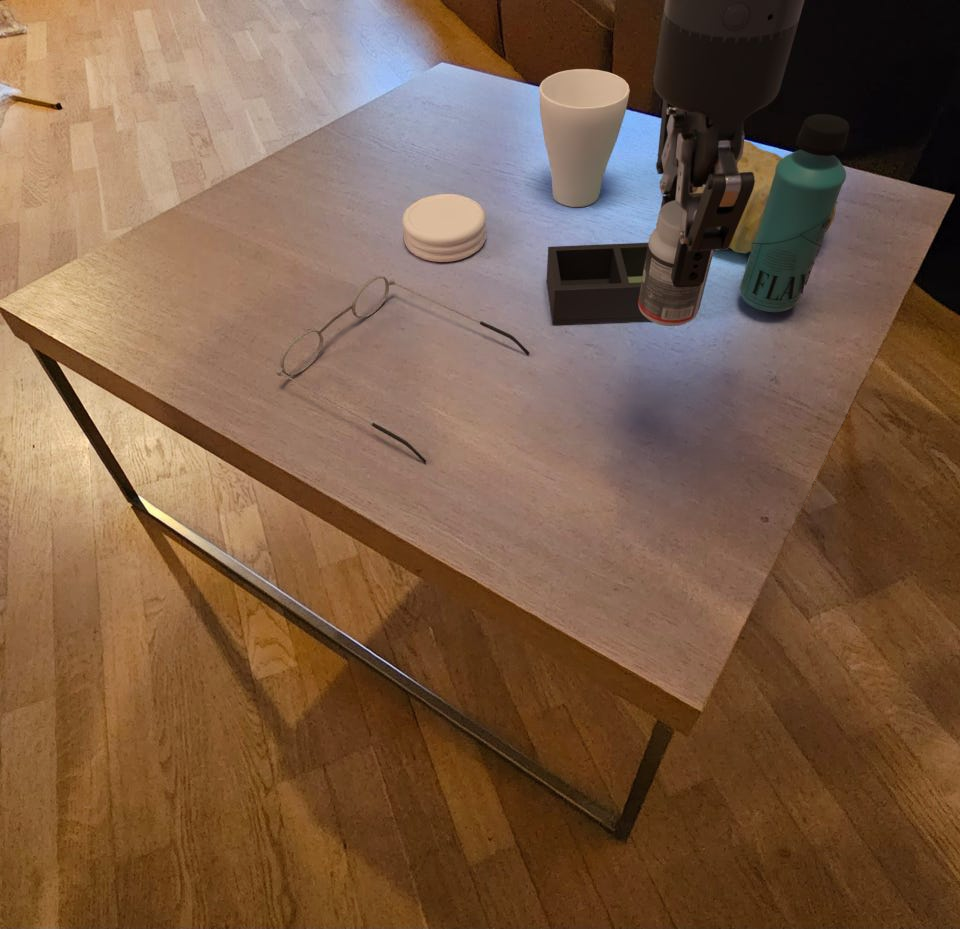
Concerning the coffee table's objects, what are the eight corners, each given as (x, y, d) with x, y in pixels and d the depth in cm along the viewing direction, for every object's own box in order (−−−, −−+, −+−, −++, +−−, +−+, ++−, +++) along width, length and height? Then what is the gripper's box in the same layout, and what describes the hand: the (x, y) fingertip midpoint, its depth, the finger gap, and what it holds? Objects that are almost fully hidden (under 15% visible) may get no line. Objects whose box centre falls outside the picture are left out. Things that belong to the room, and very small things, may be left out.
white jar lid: (437, 274, 84) (435, 248, 81) (388, 238, 89) (385, 212, 86) (502, 241, 88) (502, 215, 85) (452, 208, 93) (450, 183, 90)
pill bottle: (656, 283, 59) (674, 188, 53) (708, 304, 57) (734, 208, 51) (626, 312, 57) (641, 217, 50) (679, 336, 55) (702, 240, 49)
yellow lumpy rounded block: (790, 299, 83) (845, 215, 88) (812, 228, 74) (872, 138, 78) (659, 251, 90) (716, 175, 94) (664, 180, 80) (727, 99, 85)
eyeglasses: (390, 293, 82) (386, 263, 79) (530, 358, 75) (532, 328, 72) (277, 385, 73) (267, 356, 70) (424, 469, 66) (421, 441, 63)
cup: (614, 219, 90) (628, 110, 80) (531, 214, 91) (534, 106, 81) (617, 176, 97) (631, 70, 86) (539, 172, 98) (543, 67, 88)
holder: (546, 281, 83) (548, 246, 79) (675, 276, 83) (683, 240, 79) (552, 325, 78) (554, 290, 74) (690, 319, 78) (698, 284, 74)
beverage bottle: (733, 320, 77) (789, 136, 62) (735, 283, 81) (788, 102, 66) (797, 328, 76) (871, 142, 61) (795, 290, 80) (863, 107, 65)
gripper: (845, 53, 36) (755, 321, 49) (761, -40, 45) (704, 207, 58) (696, 60, 36) (646, 327, 49) (641, -34, 45) (612, 212, 58)
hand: (677, 261), depth 54 cm, fingers closed on pill bottle, 4 cm apart
